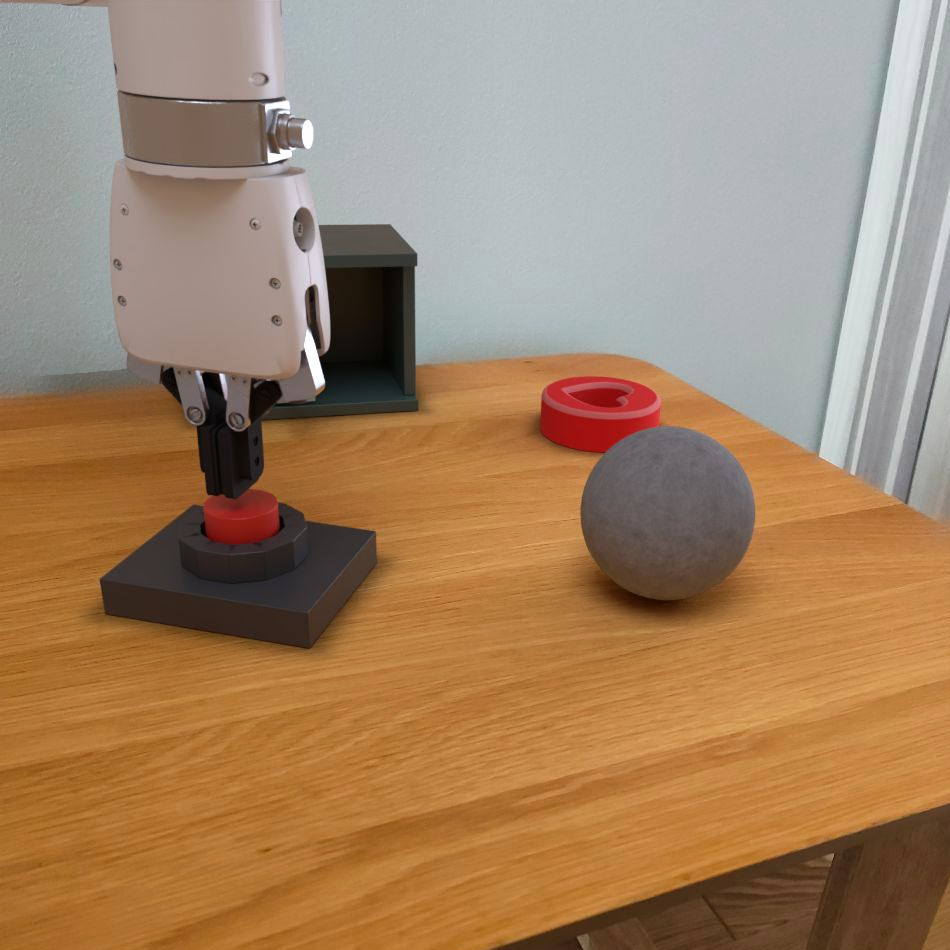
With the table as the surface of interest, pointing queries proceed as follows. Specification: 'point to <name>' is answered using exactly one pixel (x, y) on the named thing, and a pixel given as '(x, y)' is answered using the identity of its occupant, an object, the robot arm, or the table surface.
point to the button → (242, 517)
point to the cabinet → (365, 325)
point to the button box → (243, 578)
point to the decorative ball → (667, 513)
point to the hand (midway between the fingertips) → (234, 487)
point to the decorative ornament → (596, 411)
